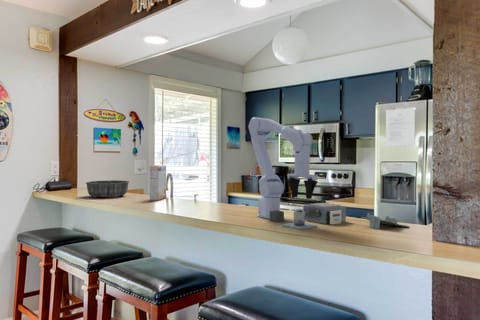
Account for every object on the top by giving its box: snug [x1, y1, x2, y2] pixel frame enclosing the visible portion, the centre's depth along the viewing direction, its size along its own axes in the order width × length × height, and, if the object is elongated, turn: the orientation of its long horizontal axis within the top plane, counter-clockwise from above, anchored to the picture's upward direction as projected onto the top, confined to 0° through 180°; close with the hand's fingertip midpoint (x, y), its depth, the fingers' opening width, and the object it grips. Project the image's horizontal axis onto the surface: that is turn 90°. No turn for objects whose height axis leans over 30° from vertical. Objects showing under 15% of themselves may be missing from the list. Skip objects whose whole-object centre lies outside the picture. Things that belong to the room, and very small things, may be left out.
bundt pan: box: [85, 179, 130, 198], centre depth 234 cm, size 26×26×10 cm
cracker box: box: [149, 164, 167, 202], centre depth 220 cm, size 14×6×21 cm, turn 172°
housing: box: [302, 202, 347, 225], centre depth 148 cm, size 12×13×7 cm
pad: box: [282, 222, 318, 231], centre depth 134 cm, size 9×9×1 cm
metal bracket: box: [361, 213, 411, 230], centre depth 136 cm, size 14×6×15 cm
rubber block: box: [269, 210, 285, 223], centre depth 146 cm, size 4×4×4 cm
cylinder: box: [293, 208, 306, 226], centre depth 134 cm, size 4×4×6 cm
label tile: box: [329, 210, 342, 225], centre depth 141 cm, size 1×6×5 cm, turn 126°
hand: (301, 197), depth 142 cm, fingers open, 7 cm apart
